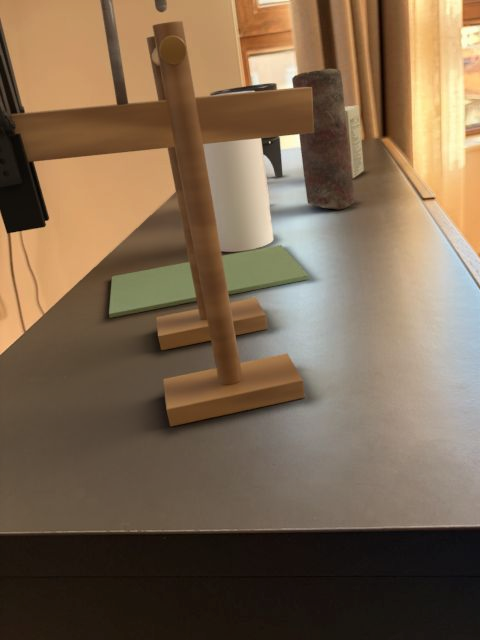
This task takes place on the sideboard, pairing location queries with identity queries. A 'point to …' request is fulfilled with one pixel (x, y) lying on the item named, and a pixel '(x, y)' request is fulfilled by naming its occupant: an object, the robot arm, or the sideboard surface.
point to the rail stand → (207, 268)
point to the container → (260, 139)
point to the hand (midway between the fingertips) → (28, 225)
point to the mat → (178, 286)
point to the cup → (239, 194)
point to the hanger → (158, 116)
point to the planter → (269, 149)
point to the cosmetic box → (354, 139)
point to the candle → (326, 142)
